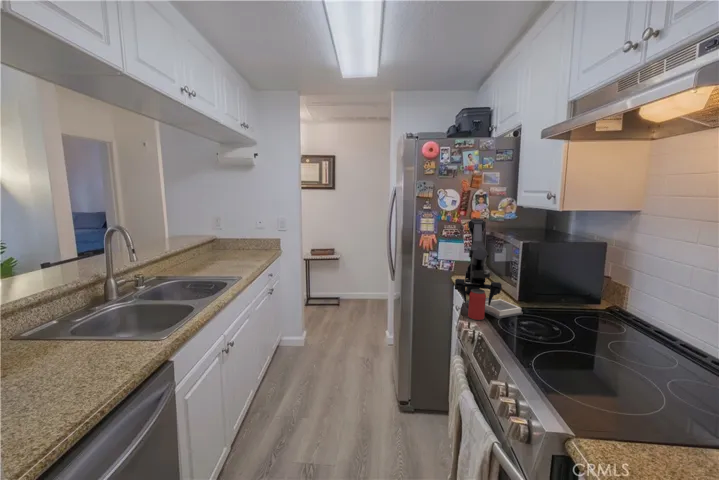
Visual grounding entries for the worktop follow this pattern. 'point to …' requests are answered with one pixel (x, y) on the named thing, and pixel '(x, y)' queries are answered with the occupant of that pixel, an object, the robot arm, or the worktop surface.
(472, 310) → the beer can
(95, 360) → the worktop surface
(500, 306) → the plate
